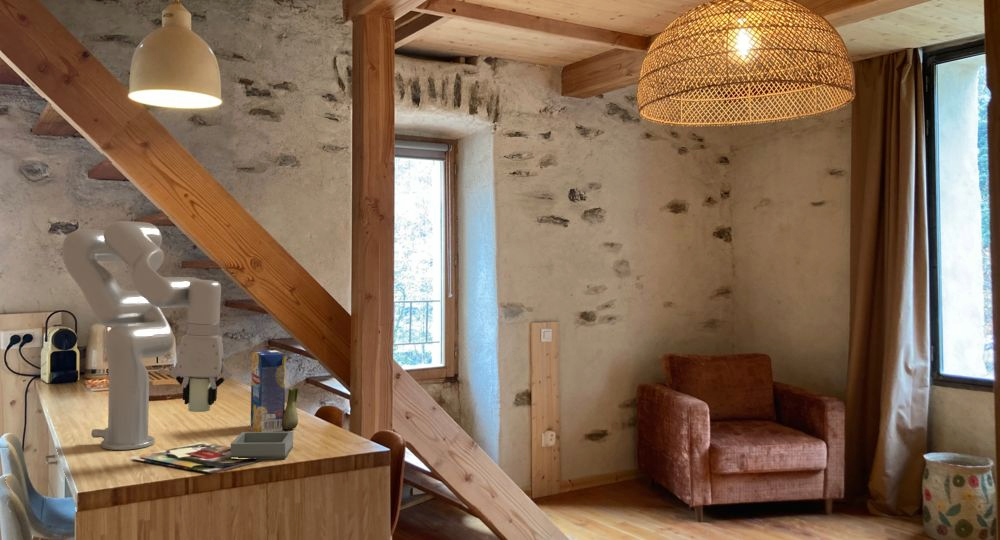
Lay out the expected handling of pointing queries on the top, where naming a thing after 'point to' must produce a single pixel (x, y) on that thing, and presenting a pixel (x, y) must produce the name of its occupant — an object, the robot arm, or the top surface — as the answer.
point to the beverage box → (267, 390)
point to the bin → (262, 445)
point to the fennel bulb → (290, 410)
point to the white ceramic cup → (199, 394)
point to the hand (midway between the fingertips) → (199, 402)
